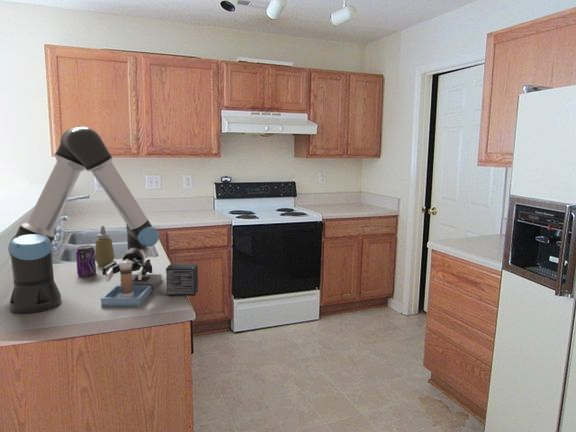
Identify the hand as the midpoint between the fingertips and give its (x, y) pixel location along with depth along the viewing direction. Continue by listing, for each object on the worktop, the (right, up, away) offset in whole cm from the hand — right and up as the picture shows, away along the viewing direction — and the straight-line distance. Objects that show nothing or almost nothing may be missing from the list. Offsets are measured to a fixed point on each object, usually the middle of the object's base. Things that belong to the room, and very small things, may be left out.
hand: (123, 276), depth 144 cm
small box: (+17, -8, +13) cm, 23 cm away
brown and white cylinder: (-1, -8, +6) cm, 10 cm away
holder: (-1, -6, +22) cm, 23 cm away
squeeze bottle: (-27, -2, +48) cm, 55 cm away
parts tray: (-1, -9, +6) cm, 11 cm away
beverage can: (-29, -4, +34) cm, 45 cm away
